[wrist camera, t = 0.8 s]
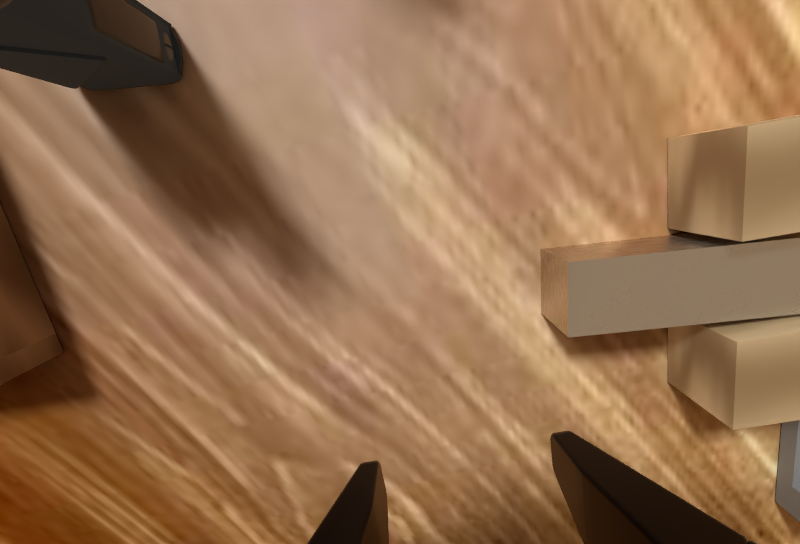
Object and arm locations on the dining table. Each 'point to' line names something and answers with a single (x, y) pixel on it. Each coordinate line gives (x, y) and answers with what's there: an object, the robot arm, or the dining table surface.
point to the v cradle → (789, 469)
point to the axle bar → (668, 282)
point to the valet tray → (21, 313)
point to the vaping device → (88, 43)
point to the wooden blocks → (741, 221)
